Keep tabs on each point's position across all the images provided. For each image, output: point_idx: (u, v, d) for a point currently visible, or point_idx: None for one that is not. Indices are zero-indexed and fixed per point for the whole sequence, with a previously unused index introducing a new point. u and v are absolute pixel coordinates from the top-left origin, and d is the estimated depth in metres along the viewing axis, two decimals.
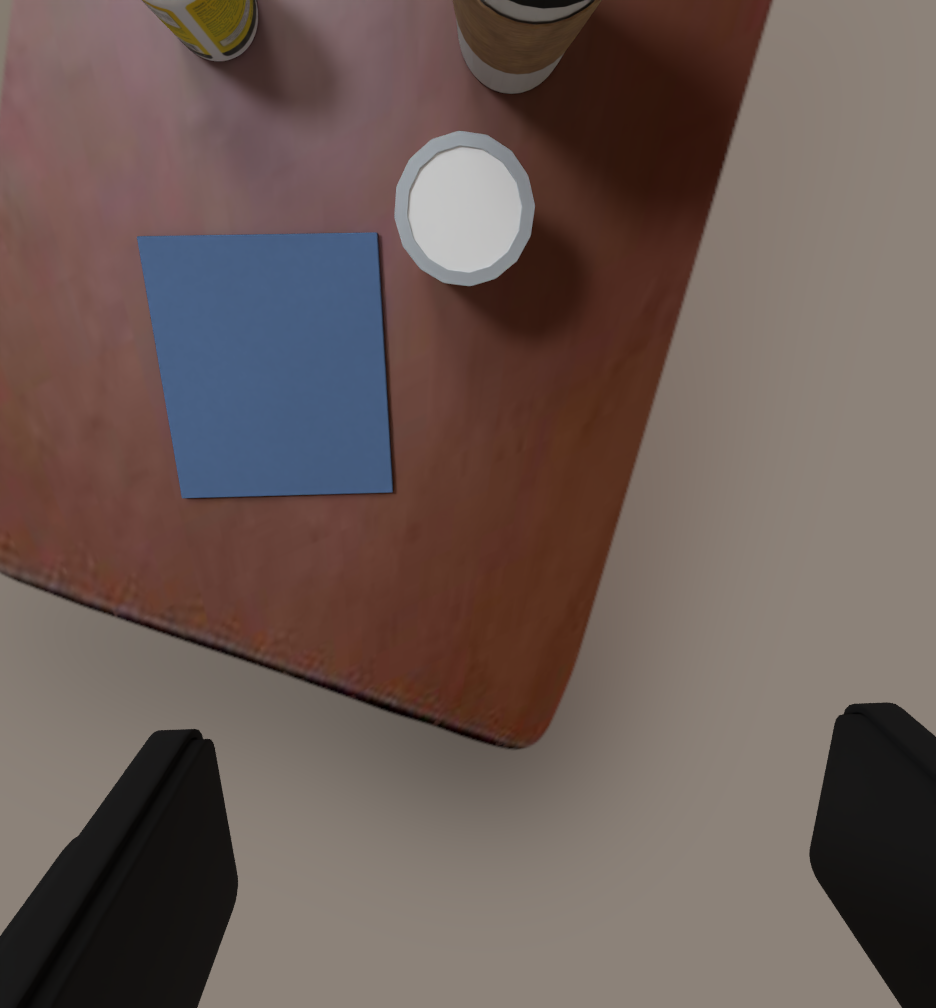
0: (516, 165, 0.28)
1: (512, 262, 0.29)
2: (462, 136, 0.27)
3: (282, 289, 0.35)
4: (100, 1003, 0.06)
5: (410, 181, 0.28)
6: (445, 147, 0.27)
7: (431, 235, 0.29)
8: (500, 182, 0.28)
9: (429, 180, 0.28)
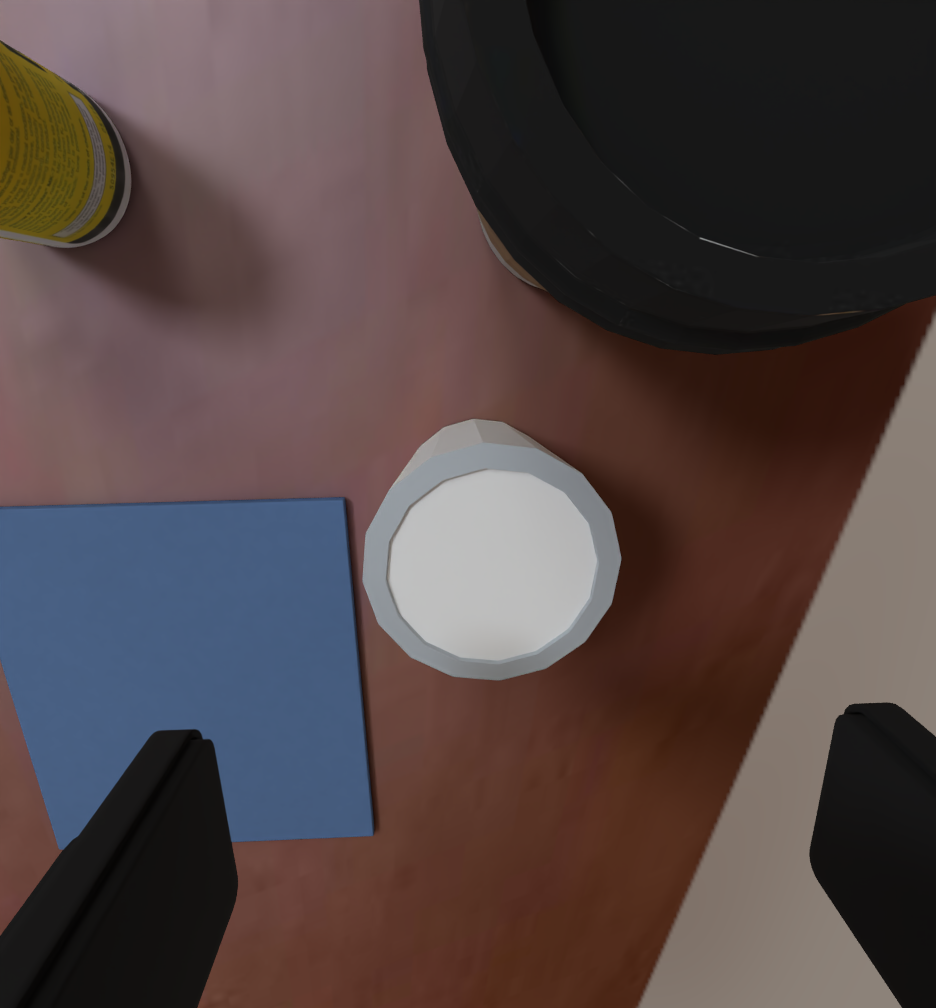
0: (590, 497, 0.15)
1: (576, 644, 0.16)
2: (489, 451, 0.14)
3: (194, 580, 0.22)
4: (100, 1003, 0.06)
5: (391, 525, 0.15)
6: (456, 471, 0.14)
7: (431, 607, 0.16)
8: (559, 524, 0.15)
9: (427, 523, 0.15)
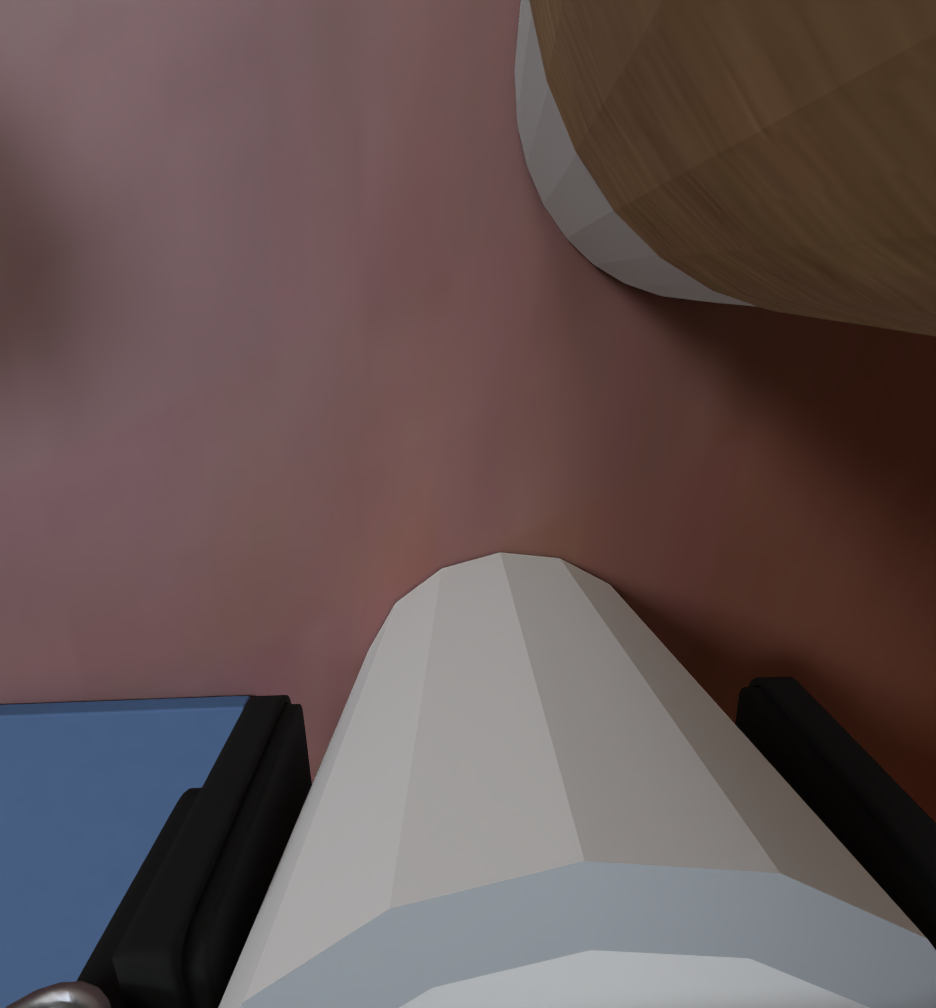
0: None
1: None
2: (605, 886, 0.04)
3: None
4: (240, 924, 0.06)
5: None
6: (482, 958, 0.04)
7: None
8: None
9: None
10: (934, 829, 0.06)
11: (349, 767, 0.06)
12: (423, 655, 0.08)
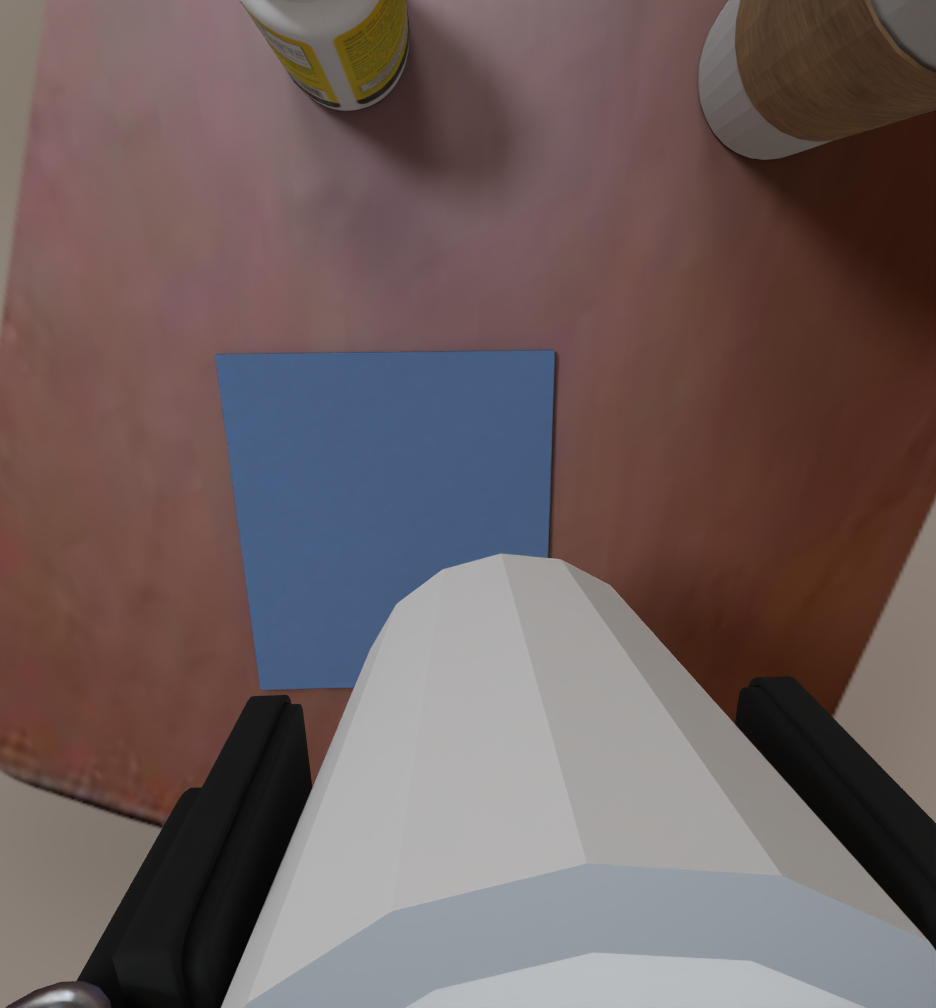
0: None
1: None
2: (608, 889, 0.04)
3: (416, 425, 0.25)
4: (240, 923, 0.06)
5: None
6: (485, 960, 0.04)
7: None
8: None
9: None
10: (934, 829, 0.06)
11: (351, 769, 0.06)
12: (424, 656, 0.08)
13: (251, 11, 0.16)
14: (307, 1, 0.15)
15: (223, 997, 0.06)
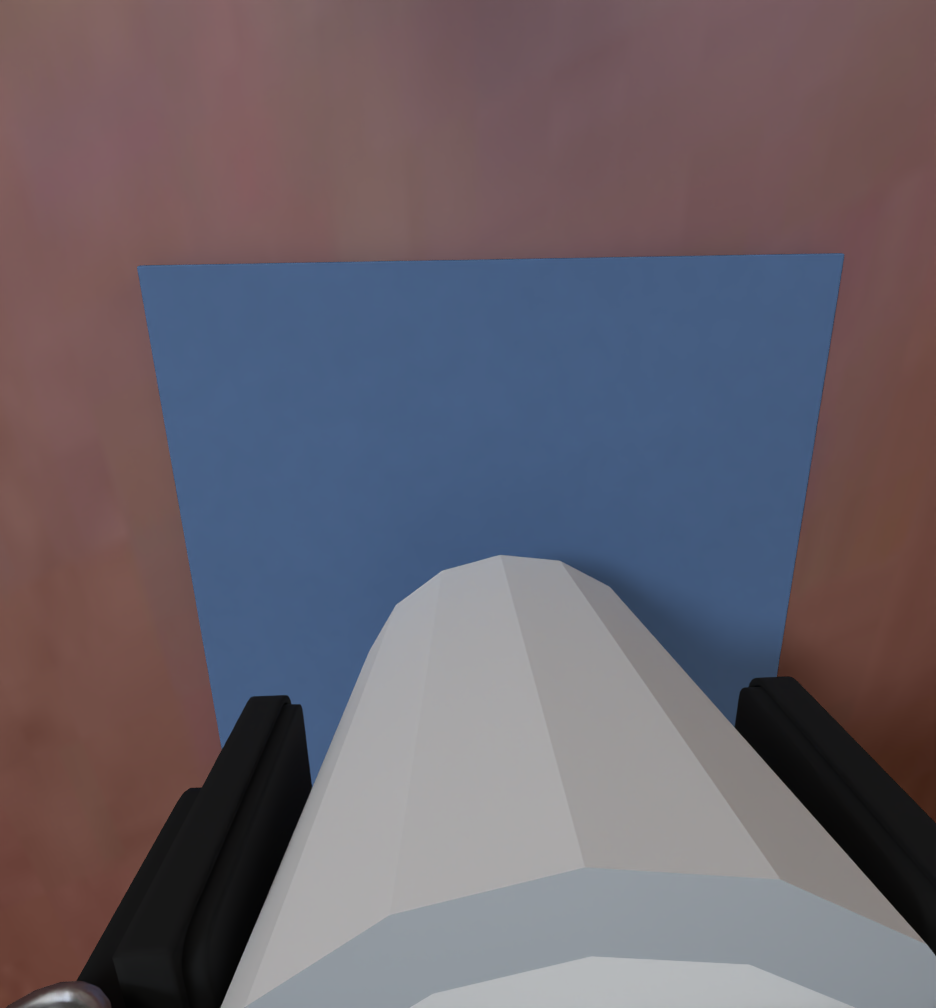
0: None
1: None
2: (605, 894, 0.04)
3: (549, 413, 0.12)
4: (241, 924, 0.06)
5: None
6: (484, 966, 0.04)
7: None
8: None
9: None
10: (934, 829, 0.06)
11: (349, 771, 0.06)
12: (423, 658, 0.08)
13: None
14: None
15: (223, 997, 0.06)
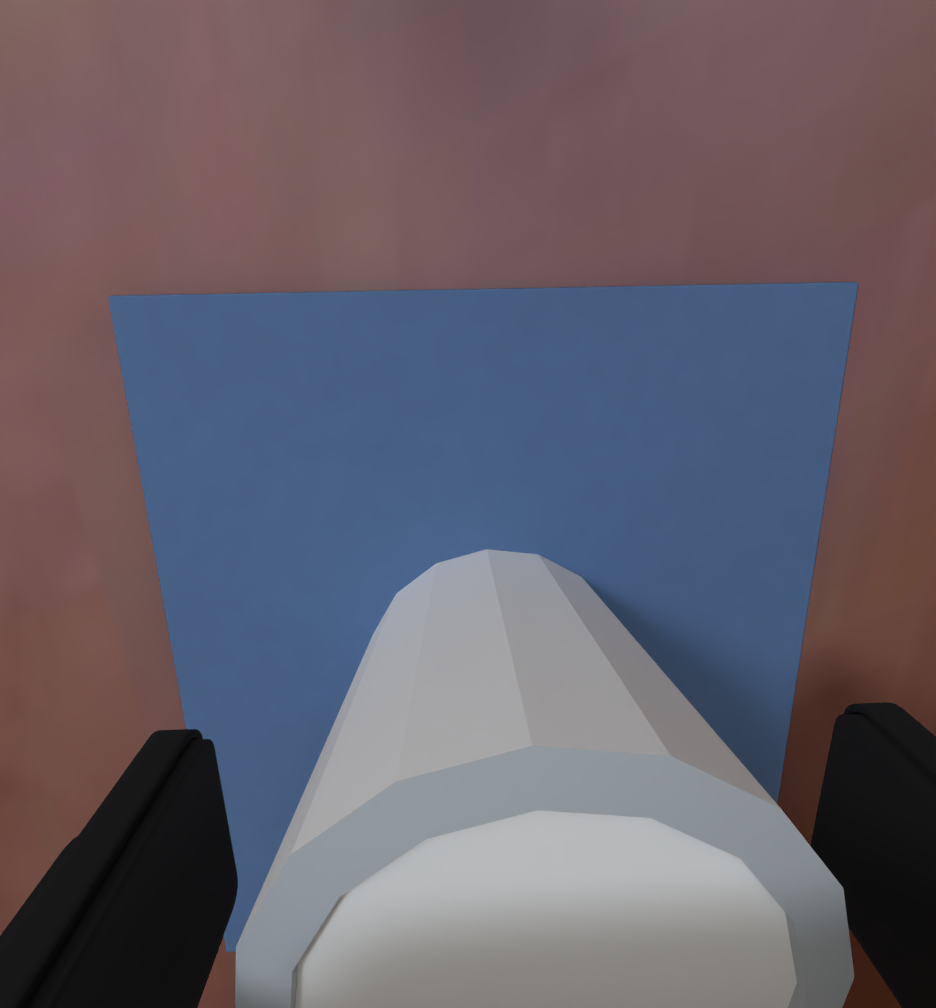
0: (797, 861, 0.06)
1: None
2: (548, 765, 0.06)
3: (548, 449, 0.12)
4: (100, 1003, 0.06)
5: (300, 928, 0.06)
6: (462, 817, 0.06)
7: None
8: (714, 914, 0.06)
9: (389, 920, 0.06)
10: None
11: (361, 710, 0.08)
12: (420, 628, 0.09)
13: None
14: None
15: None
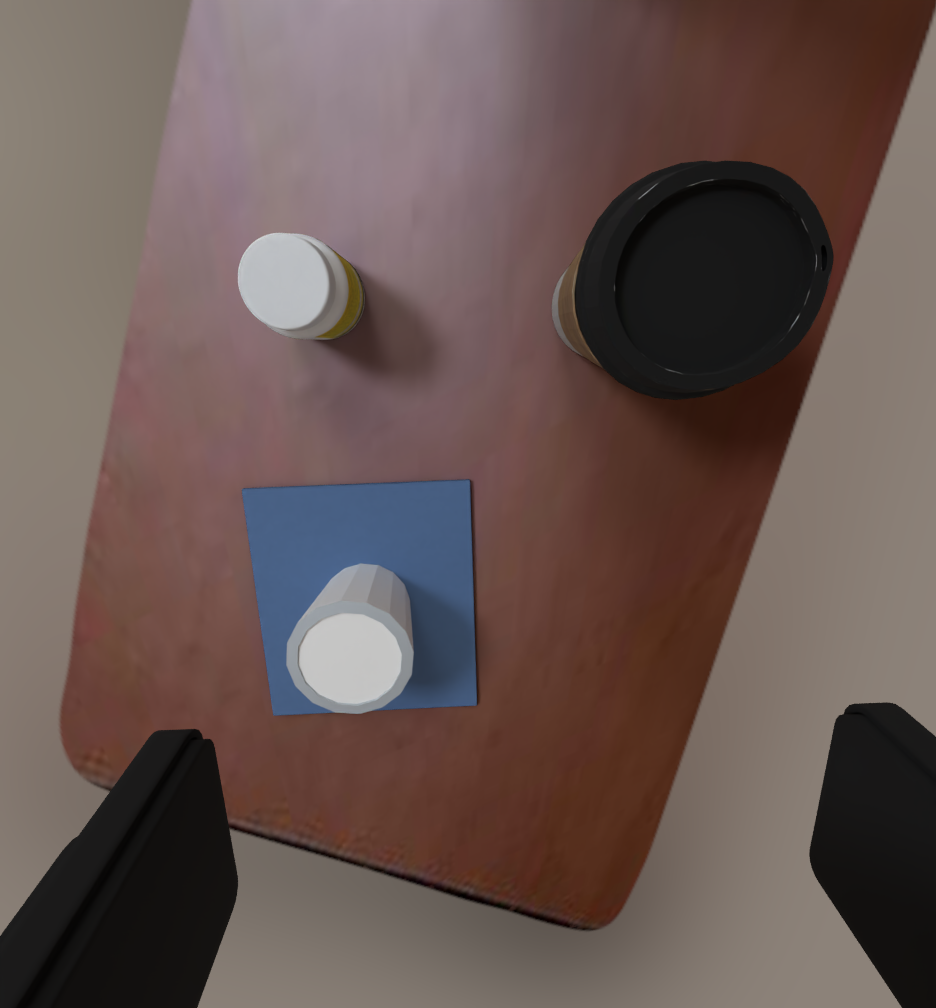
0: (394, 624, 0.31)
1: (396, 695, 0.32)
2: (343, 604, 0.31)
3: (378, 531, 0.37)
4: (100, 1003, 0.06)
5: (299, 639, 0.31)
6: (328, 614, 0.31)
7: (321, 677, 0.32)
8: (381, 636, 0.31)
9: (316, 637, 0.31)
10: None
11: (313, 603, 0.33)
12: (331, 585, 0.34)
13: (268, 326, 0.28)
14: (299, 330, 0.27)
15: None
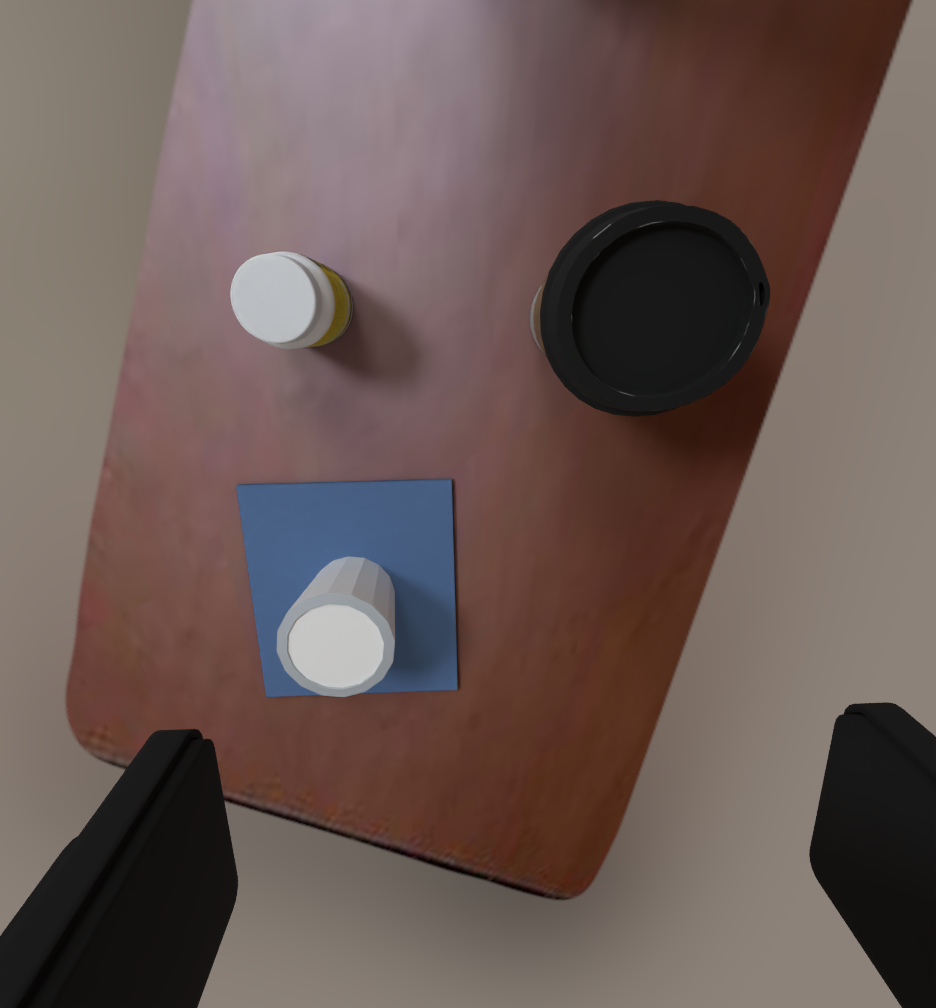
0: (377, 615, 0.33)
1: (378, 680, 0.35)
2: (330, 596, 0.33)
3: (364, 526, 0.39)
4: (100, 1003, 0.06)
5: (288, 627, 0.33)
6: (315, 605, 0.33)
7: (309, 663, 0.34)
8: (364, 626, 0.33)
9: (304, 626, 0.33)
10: None
11: (302, 594, 0.35)
12: (319, 577, 0.36)
13: None
14: None
15: None
